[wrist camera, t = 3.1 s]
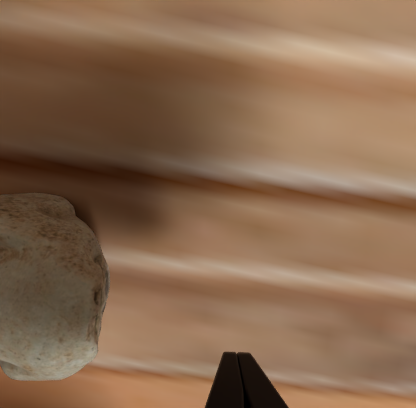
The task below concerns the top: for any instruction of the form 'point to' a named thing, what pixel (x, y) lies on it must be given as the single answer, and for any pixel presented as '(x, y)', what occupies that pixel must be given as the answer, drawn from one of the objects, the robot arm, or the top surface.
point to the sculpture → (48, 288)
